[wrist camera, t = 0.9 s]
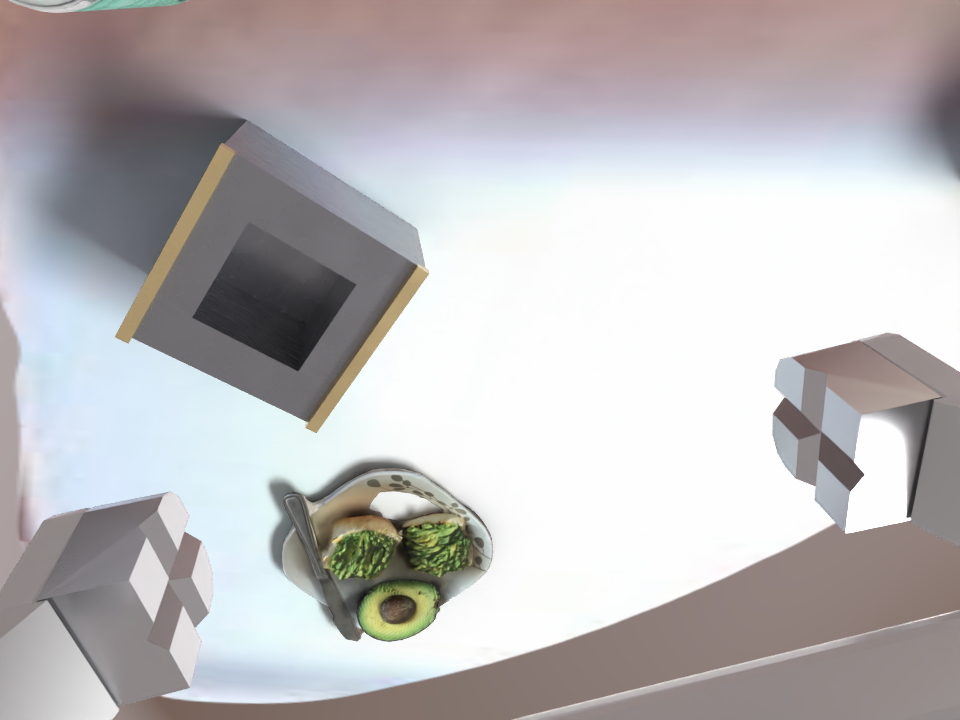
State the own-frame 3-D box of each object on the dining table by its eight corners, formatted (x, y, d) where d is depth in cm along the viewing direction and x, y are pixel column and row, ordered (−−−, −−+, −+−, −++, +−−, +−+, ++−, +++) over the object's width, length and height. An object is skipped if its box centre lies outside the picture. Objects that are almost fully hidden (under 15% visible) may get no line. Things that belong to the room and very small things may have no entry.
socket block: (246, 117, 44) (220, 144, 36) (419, 227, 49) (429, 273, 41) (156, 280, 48) (114, 337, 40) (324, 367, 53) (316, 433, 45)
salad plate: (219, 534, 59) (208, 573, 55) (376, 415, 56) (377, 448, 52) (370, 640, 68) (370, 681, 64) (514, 543, 65) (524, 580, 61)
